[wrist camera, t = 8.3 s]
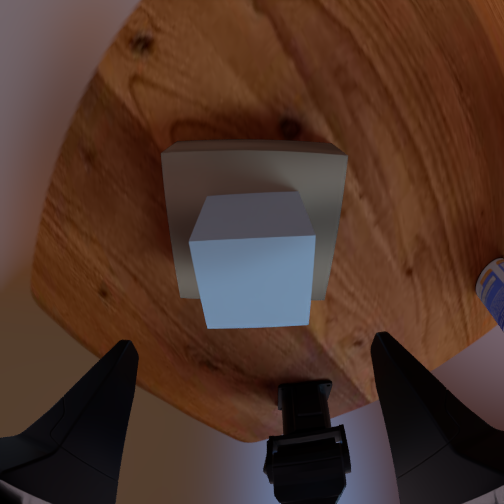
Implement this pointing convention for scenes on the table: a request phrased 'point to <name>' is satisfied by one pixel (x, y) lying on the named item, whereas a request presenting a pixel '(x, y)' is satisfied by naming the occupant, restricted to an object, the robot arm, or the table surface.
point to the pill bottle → (493, 289)
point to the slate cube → (254, 260)
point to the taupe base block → (253, 191)
